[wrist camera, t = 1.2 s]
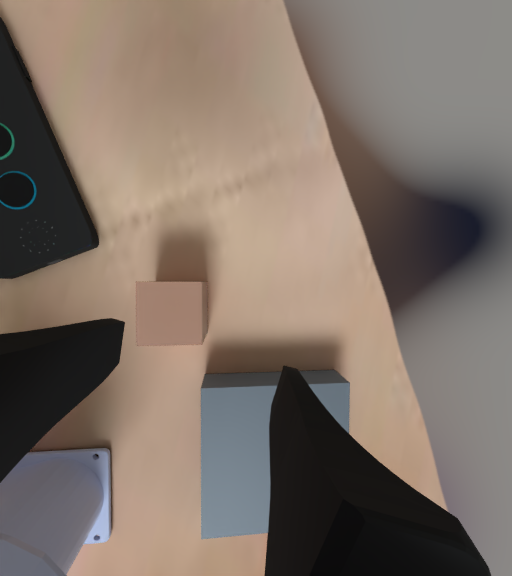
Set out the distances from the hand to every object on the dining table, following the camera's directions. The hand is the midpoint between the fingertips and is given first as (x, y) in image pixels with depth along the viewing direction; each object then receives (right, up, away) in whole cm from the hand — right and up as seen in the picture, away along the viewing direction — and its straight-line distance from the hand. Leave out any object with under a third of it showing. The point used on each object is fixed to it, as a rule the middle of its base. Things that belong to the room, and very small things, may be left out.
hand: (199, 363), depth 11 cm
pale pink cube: (-4, +2, +11) cm, 12 cm away
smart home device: (-18, +15, +10) cm, 25 cm away
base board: (+4, -10, +12) cm, 17 cm away
